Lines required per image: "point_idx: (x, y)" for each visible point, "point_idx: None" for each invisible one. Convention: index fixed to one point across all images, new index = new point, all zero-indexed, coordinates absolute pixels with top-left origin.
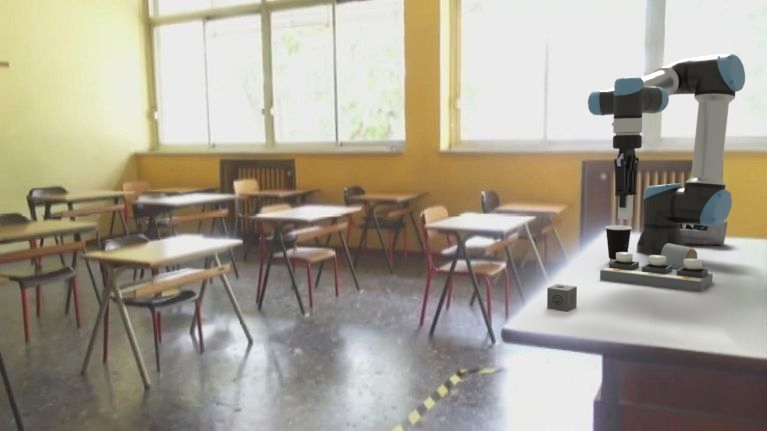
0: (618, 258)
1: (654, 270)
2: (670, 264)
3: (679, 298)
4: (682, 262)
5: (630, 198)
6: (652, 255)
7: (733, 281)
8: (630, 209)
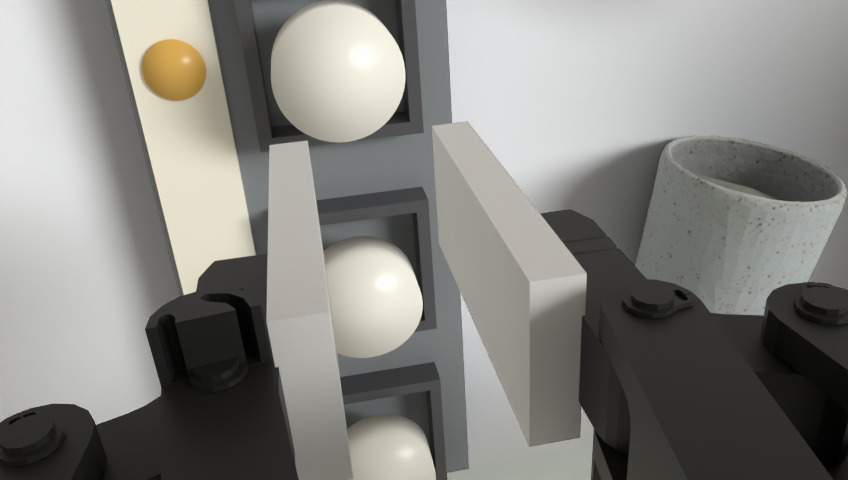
0: (273, 48)
1: None
2: (649, 210)
3: None
4: None
5: (513, 380)
6: (391, 268)
7: (546, 473)
8: (465, 283)
